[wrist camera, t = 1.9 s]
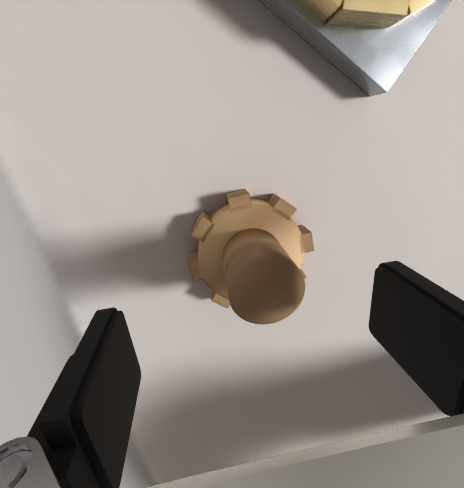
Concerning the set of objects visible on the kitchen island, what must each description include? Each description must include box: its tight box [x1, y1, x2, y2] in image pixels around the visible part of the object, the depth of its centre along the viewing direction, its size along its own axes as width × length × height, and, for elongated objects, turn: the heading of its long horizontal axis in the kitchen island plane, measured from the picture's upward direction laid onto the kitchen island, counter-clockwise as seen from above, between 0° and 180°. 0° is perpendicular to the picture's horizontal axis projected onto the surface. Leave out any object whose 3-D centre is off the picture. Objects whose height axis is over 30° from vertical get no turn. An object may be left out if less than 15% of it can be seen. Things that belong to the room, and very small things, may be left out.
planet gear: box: [188, 189, 314, 324], centre depth 15 cm, size 8×8×6 cm
